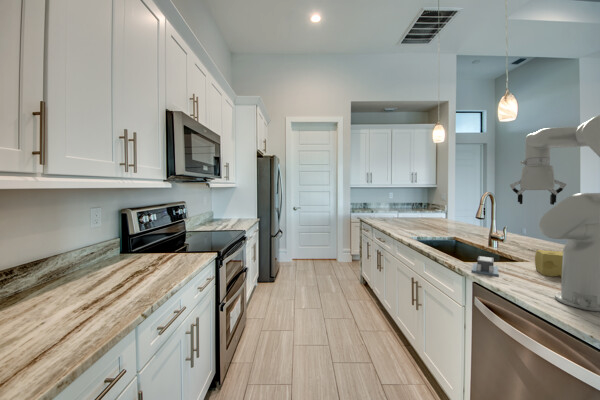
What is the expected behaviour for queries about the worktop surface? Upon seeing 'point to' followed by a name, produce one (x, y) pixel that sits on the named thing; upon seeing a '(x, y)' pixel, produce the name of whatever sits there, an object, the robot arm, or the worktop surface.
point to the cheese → (549, 262)
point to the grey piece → (492, 271)
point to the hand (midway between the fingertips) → (536, 204)
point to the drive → (485, 262)
